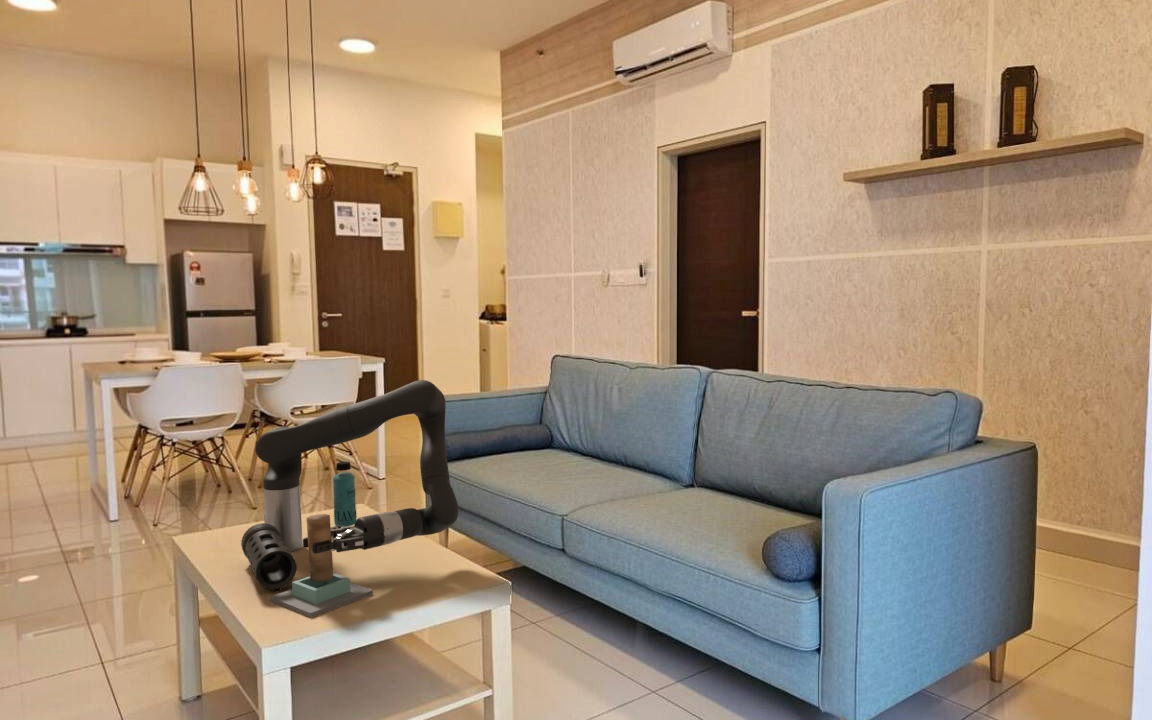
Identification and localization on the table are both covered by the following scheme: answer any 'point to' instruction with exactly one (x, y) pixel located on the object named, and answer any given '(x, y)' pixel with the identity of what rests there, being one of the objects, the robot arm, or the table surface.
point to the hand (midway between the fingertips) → (308, 545)
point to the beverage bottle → (344, 496)
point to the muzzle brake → (268, 556)
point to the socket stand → (320, 595)
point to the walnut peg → (320, 561)
